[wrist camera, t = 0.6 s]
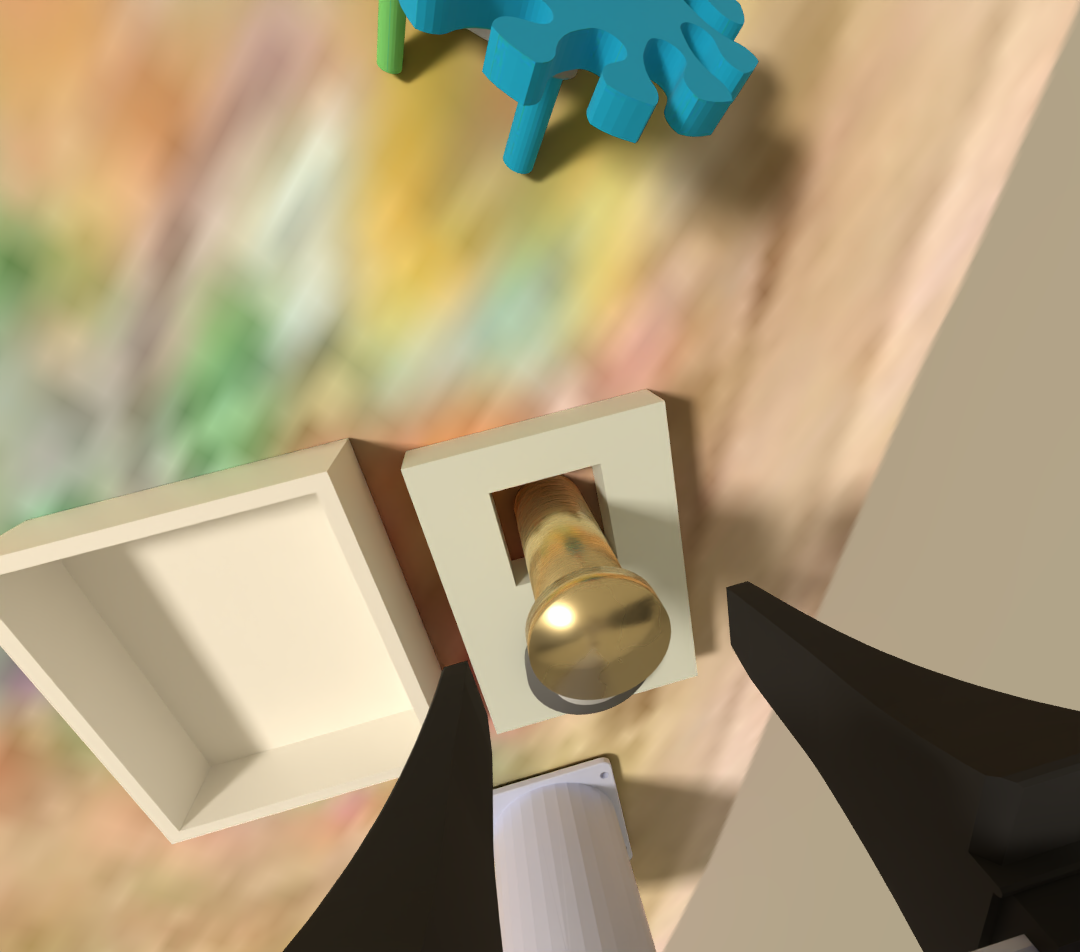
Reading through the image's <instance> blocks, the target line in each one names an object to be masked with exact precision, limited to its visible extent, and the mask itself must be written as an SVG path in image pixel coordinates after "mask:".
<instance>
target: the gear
mask: <svg viewBox="0 0 1080 952" xmlns="http://www.w3.org/2000/svg"><path fill="white" fill-rule="evenodd" d="M406 16H407V18H408V19H409V21H410V22H411V23H412V25H413V26H414V28H415V29H418V30H420V31H423V32H426V33H430V34H439V35H440V34H446V33H449V32H451V31H454V30H458V29H463V28H466V29H468V30H470V31H471V32H473V33H475V34H477V35H478V36H480V37H482V38H483V39H485V40H487V41H488V46H487V51H486V56H485V61H484V66H483V71H482V72H483V73H484V74H485V75H486V76H487V78H488V79H489V80H490V81H491V82H492V83H493V84H495V85H496V86H497V87H498V88H499V89H500V90H502V91H503V92H504V93H506V94H507V95H508V96H510V97H511V98H513V99H514V100H516V101H517V102H518V105H517V109H516V112H515V116H514V120H513V123H512V127H511V130H510V134H509V138H508V141H507V145H506V149H505V152H504V156H503V160H504V163H505V164H506V165H507V167H509V168H510V169H511V170H513V171H515V172H517V173H520V174H527V173H530V172H531V171H532V169H533V166H534V163H535V160H536V157H537V154H538V151H539V148H540V145H541V143H542V140H543V137H544V134H545V131H546V128H547V125H548V122H549V119H550V116H551V113H552V110H553V107H554V104H555V101H556V98H557V95H558V92H559V89H560V87H561V84H562V81H563V80H568V79H572V78H573V77H575V76H576V74H577V71H578V69H584V70H588V71H590V72H592V73H594V74H596V75H598V76H599V77H600V78H599V81H598V83H597V86H596V88H595V91H594V93H593V96H592V98H591V101H590V103H589V106H588V108H587V118H588V121H589V123H590V124H591V125H593V126H594V127H596V128H598V129H599V130H601V131H603V132H605V133H607V134H610V135H612V136H615V137H617V138H620V139H623V140H627V141H630V142H633V143H636V142H637V141H638V140H639V138H640V136H641V134H642V132H643V130H644V128H645V126H646V124H647V122H648V120H649V118H650V116H651V114H652V113H653V111H654V109H655V107H656V105H657V103H658V100H659V96H658V92H657V90H656V88H655V86H654V85H653V83H652V82H651V80H652V81H653V82H655V83H656V84H658V85H659V86H660V87H661V88H662V89H663V90H664V92H665V93H666V95H667V104H666V107H665V110H664V115H665V118H666V121H667V122H668V124H669V125H670V126H671V128H672V129H673V130H674V131H675V132H677V133H678V134H681V135H685V136H692V137H698V136H707V135H711V134H712V132H713V131H714V129H715V128H716V126H717V125H718V123H719V121H720V120H721V118H722V117H723V115H724V114H725V112H726V111H727V109H728V107H729V106H730V104H731V103H732V102H733V101H734V100H735V98H736V97H737V95H738V94H739V92H740V90H741V89H742V87H743V86H744V84H745V83H746V81H747V80H748V78H749V76H750V75H751V73H752V72H753V70H754V69H755V67H756V65H757V63H758V62H759V61H758V60H757V58H756V57H755V56H754V55H753V54H752V53H751V52H750V51H749V50H747V49H746V48H745V47H743V46H742V45H740V44H738V43H736V42H734V40H735V38H736V36H737V34H738V33H739V31H740V29H741V28H742V26H743V24H744V14H743V11H742V8H741V5H740V4H739V3H738V2H737V1H736V0H379V10H378V41H377V64H378V66H379V67H380V68H381V69H382V70H383V71H385V72H388V73H391V74H398V73H400V72H401V71H402V65H403V51H404V38H405V24H406Z"/></svg>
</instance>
